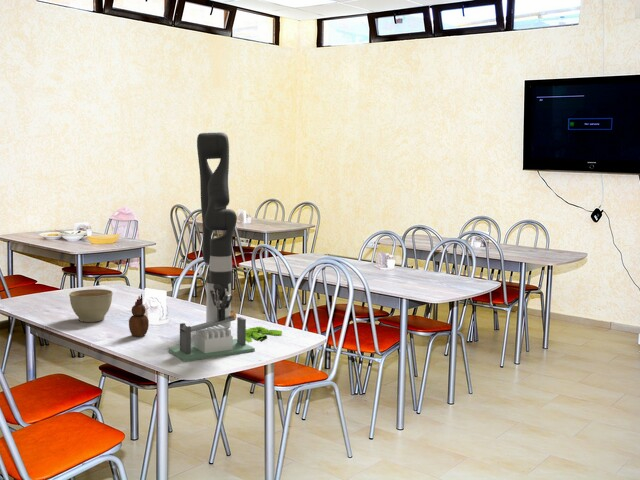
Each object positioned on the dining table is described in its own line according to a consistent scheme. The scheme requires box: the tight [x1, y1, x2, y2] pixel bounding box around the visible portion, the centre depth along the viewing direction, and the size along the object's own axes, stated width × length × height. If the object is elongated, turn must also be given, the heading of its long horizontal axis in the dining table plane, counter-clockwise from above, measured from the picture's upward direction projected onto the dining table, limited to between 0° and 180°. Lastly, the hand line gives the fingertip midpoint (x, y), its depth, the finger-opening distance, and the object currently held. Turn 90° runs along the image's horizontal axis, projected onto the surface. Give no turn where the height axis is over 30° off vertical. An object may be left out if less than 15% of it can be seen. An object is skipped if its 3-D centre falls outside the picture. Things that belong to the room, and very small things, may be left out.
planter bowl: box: [68, 288, 113, 323], centre depth 276 cm, size 16×16×11 cm
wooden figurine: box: [128, 293, 150, 337], centre depth 254 cm, size 7×6×15 cm
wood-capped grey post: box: [181, 310, 237, 333], centre depth 235 cm, size 19×3×2 cm, turn 123°
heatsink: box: [168, 316, 256, 363], centre depth 237 cm, size 14×25×10 cm, turn 123°
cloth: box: [246, 326, 283, 343], centre depth 259 cm, size 20×22×2 cm
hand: (221, 319), depth 238 cm, fingers closed
